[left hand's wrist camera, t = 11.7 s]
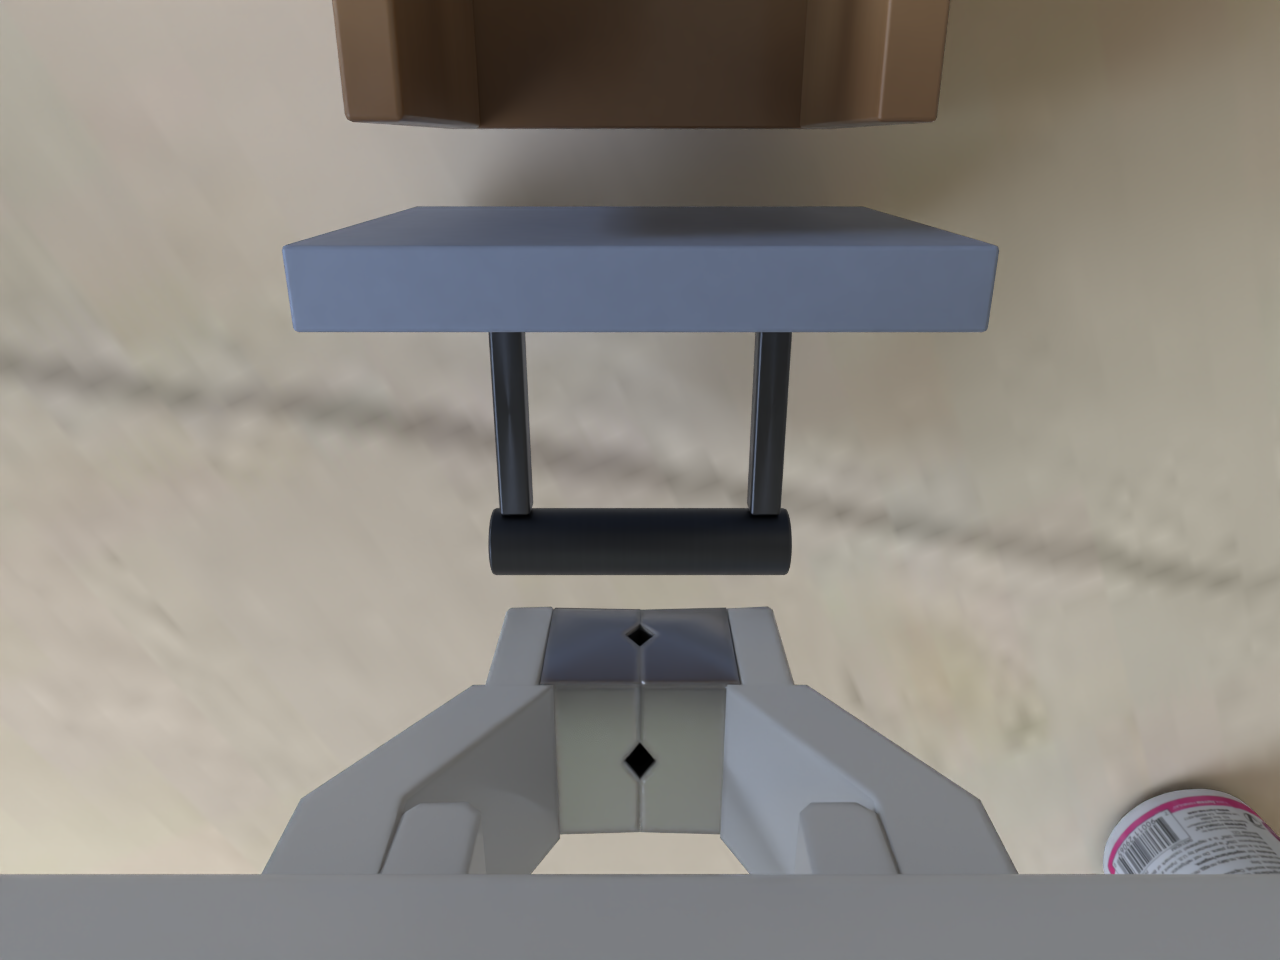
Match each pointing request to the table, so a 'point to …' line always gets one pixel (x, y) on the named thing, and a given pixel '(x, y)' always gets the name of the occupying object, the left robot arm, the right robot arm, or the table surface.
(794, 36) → the drawer
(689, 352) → the table surface
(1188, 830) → the pill bottle
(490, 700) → the left robot arm
